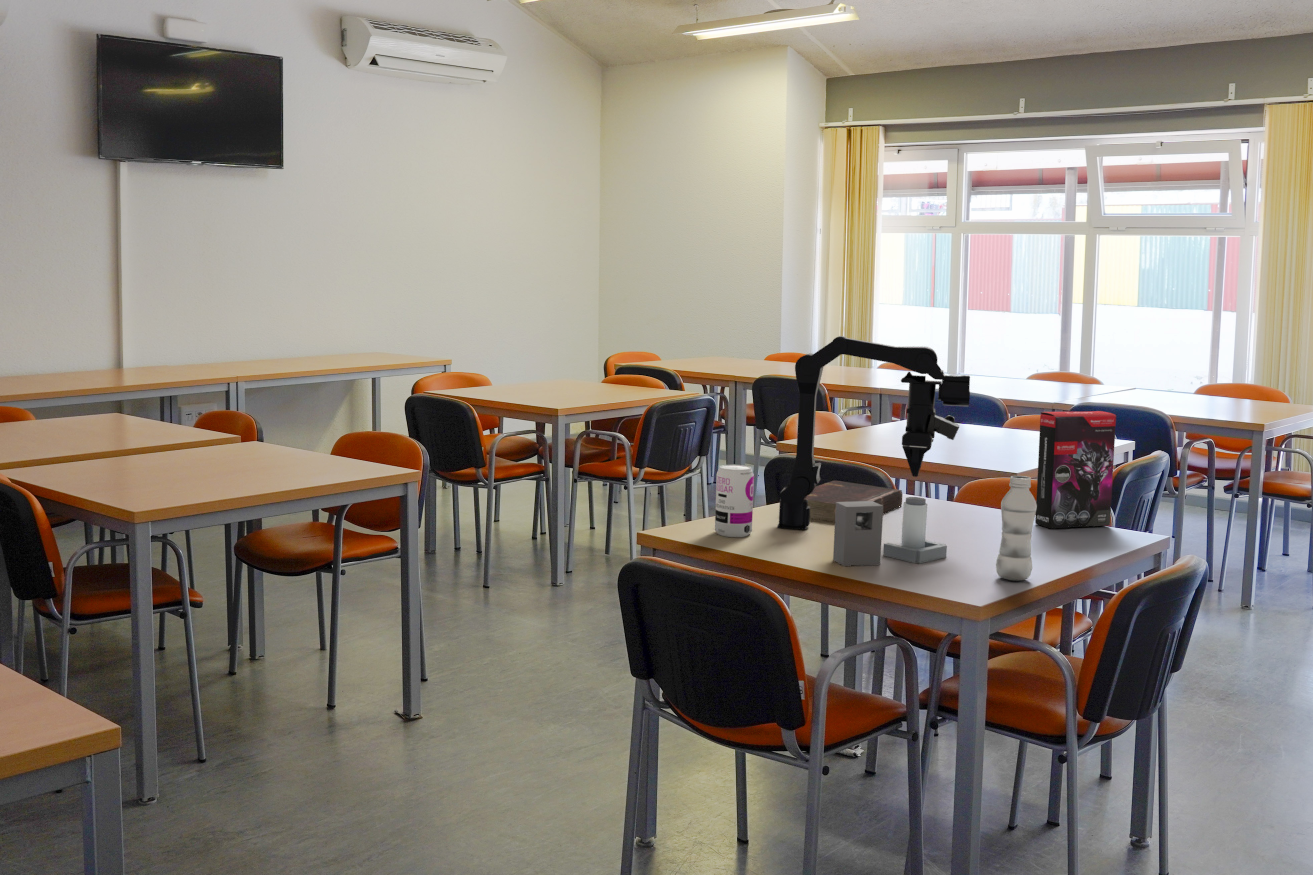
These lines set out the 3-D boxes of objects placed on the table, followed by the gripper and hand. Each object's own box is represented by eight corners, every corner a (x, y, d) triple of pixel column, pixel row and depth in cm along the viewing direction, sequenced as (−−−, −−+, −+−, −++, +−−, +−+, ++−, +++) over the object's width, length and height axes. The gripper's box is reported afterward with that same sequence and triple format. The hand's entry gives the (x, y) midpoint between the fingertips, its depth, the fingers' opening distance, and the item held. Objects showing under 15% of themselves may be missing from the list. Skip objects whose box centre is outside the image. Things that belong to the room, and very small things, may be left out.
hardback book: (857, 527, 266) (858, 506, 265) (785, 516, 276) (785, 496, 275) (901, 508, 290) (902, 488, 290) (833, 499, 300) (834, 480, 299)
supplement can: (755, 531, 255) (758, 465, 253) (746, 539, 248) (748, 471, 246) (720, 528, 258) (722, 463, 256) (710, 535, 250) (712, 468, 248)
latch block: (833, 560, 231) (835, 502, 229) (869, 558, 233) (872, 501, 231) (843, 566, 226) (846, 506, 224) (880, 564, 228) (883, 505, 226)
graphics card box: (1048, 530, 266) (1057, 414, 262) (1031, 523, 272) (1039, 410, 269) (1110, 527, 271) (1119, 413, 267) (1091, 521, 277) (1100, 410, 274)
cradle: (883, 555, 236) (883, 543, 236) (913, 548, 243) (914, 537, 242) (917, 563, 230) (918, 551, 229) (948, 556, 236) (948, 545, 236)
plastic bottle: (989, 575, 222) (996, 474, 219) (1023, 575, 223) (1030, 474, 220) (1002, 583, 216) (1009, 479, 213) (1037, 584, 216) (1044, 480, 213)
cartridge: (900, 557, 235) (903, 500, 233) (900, 552, 240) (904, 496, 238) (924, 559, 234) (927, 501, 232) (924, 553, 239) (927, 497, 237)
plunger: (834, 519, 235) (835, 502, 235) (850, 519, 236) (851, 502, 236) (852, 528, 227) (853, 511, 227) (868, 528, 228) (869, 510, 228)
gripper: (957, 410, 240) (952, 483, 243) (959, 402, 258) (954, 470, 260) (904, 407, 243) (899, 478, 246) (909, 399, 261) (905, 466, 263)
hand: (916, 473), depth 254 cm, fingers open, 9 cm apart
